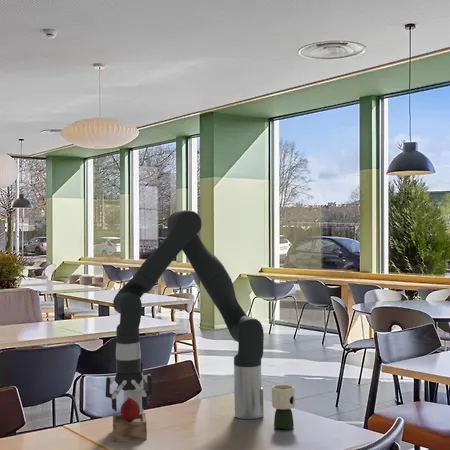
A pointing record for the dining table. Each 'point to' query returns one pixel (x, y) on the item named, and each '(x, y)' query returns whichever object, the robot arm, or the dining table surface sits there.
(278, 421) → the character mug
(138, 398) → the travel mug
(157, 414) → the dining table surface
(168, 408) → the dining table surface
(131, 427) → the base
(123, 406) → the onion
